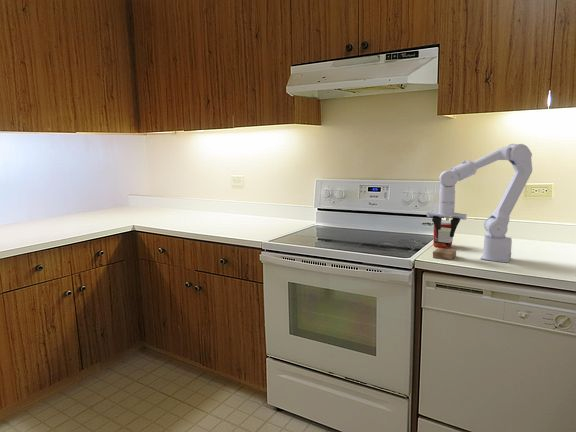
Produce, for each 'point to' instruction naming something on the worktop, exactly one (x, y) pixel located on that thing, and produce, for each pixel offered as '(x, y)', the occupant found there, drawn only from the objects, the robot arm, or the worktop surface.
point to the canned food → (435, 240)
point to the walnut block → (444, 253)
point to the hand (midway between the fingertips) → (445, 236)
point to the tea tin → (444, 235)
